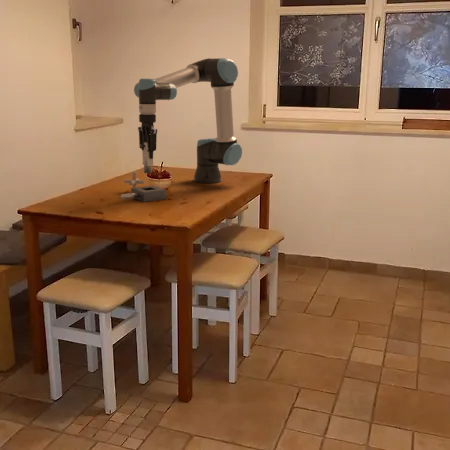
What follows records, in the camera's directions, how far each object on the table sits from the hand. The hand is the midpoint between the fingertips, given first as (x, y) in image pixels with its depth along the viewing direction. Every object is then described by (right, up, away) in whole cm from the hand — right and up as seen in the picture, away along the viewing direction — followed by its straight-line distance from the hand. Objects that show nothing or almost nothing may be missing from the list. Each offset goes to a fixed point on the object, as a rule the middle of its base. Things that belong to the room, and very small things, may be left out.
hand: (147, 164), depth 274 cm
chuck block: (-3, -16, +2) cm, 16 cm away
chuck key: (0, -4, +1) cm, 4 cm away
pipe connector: (-9, -12, +18) cm, 24 cm away
